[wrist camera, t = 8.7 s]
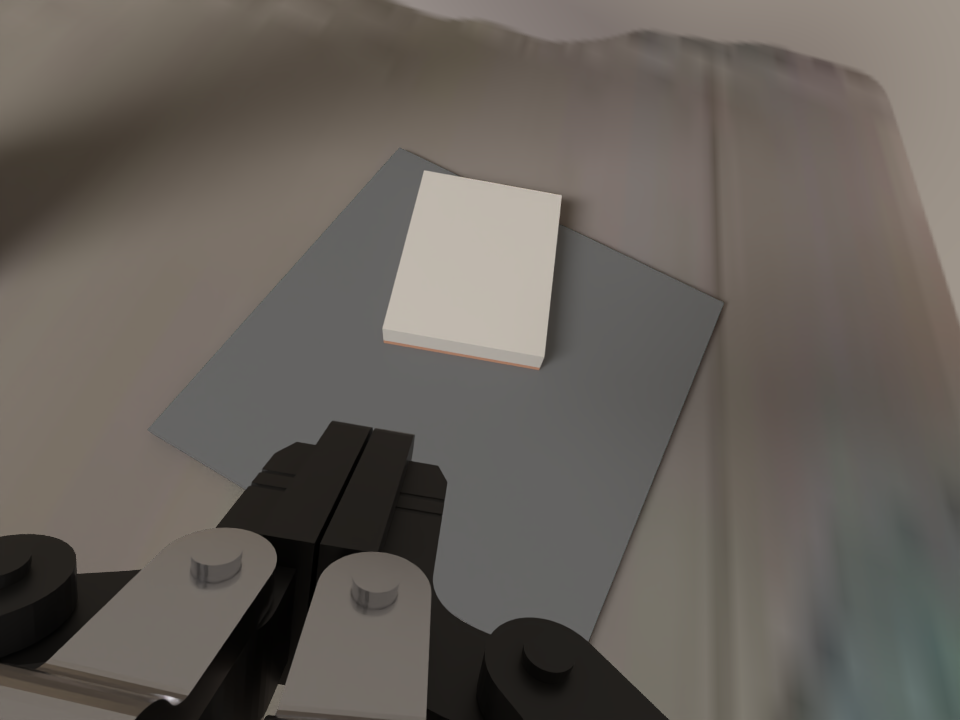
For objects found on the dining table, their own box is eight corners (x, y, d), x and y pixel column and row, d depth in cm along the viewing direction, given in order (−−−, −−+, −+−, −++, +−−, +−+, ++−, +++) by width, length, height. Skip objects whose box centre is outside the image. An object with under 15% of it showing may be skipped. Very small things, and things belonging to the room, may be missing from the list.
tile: (544, 357, 32) (561, 195, 38) (382, 328, 32) (424, 170, 38) (538, 370, 34) (556, 212, 39) (383, 342, 33) (423, 188, 39)
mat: (151, 432, 30) (147, 429, 30) (399, 152, 41) (399, 147, 40) (568, 684, 27) (571, 684, 26) (720, 307, 38) (724, 302, 37)
